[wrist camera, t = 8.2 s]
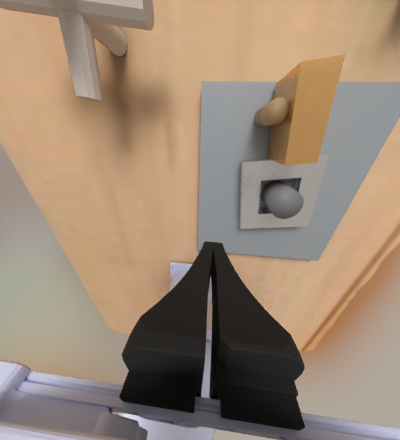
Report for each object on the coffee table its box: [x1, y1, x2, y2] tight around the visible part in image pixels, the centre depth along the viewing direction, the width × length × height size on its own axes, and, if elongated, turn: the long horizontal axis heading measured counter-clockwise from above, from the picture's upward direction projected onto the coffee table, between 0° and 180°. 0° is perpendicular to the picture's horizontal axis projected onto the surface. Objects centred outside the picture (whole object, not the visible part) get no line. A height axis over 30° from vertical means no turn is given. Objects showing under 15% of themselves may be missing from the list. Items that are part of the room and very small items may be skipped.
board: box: [198, 82, 400, 261], centre depth 17 cm, size 20×18×5 cm
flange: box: [239, 55, 345, 229], centre depth 14 cm, size 14×8×4 cm, turn 6°
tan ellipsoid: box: [254, 97, 289, 127], centre depth 13 cm, size 2×2×4 cm
